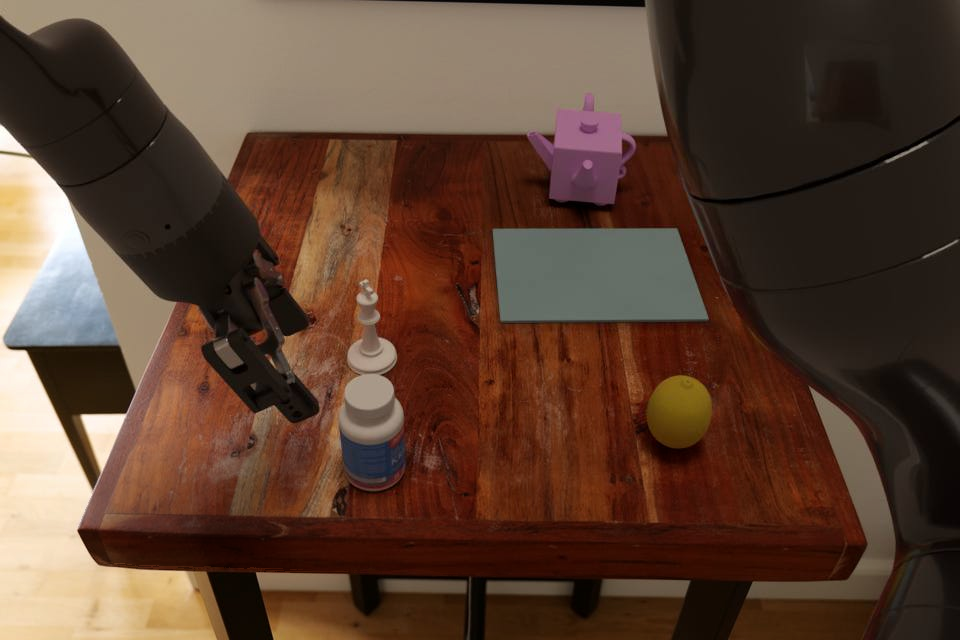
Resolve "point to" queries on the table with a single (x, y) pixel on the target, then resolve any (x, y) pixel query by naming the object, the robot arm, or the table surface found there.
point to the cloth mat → (595, 276)
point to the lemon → (679, 411)
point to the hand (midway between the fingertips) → (302, 369)
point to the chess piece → (370, 339)
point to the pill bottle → (372, 433)
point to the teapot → (585, 154)
